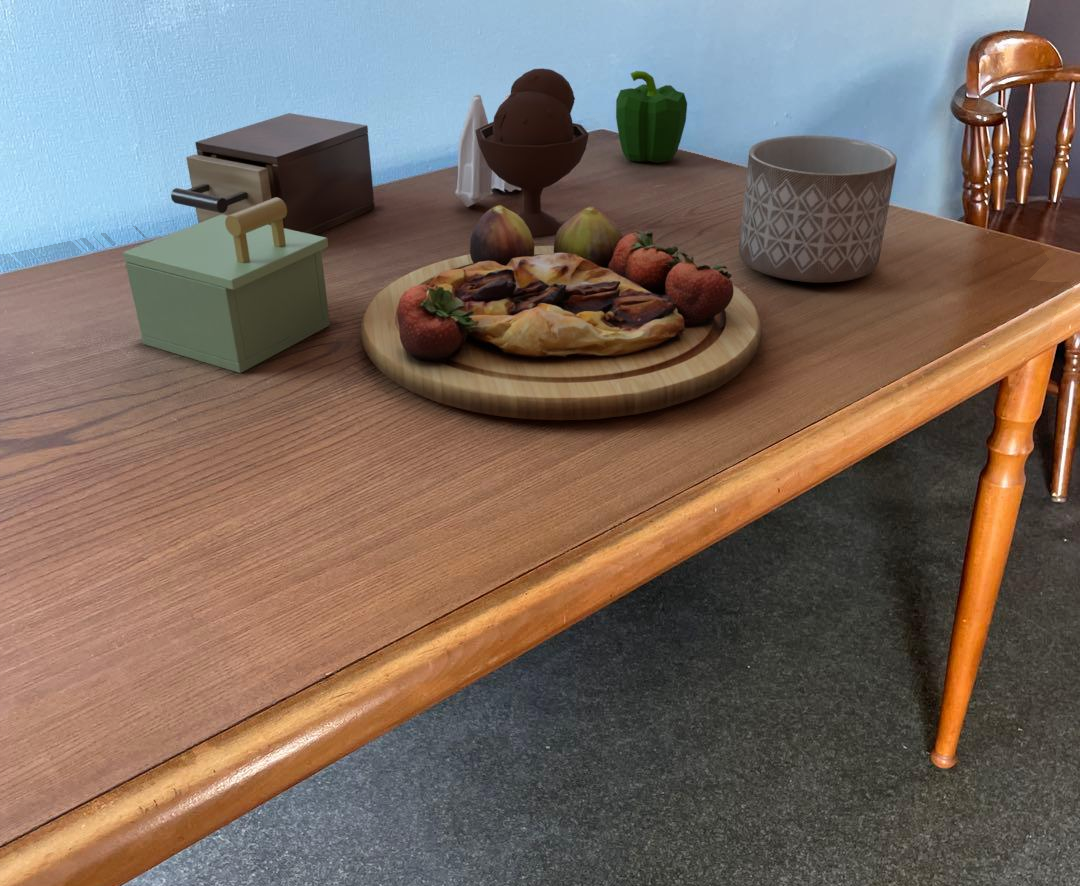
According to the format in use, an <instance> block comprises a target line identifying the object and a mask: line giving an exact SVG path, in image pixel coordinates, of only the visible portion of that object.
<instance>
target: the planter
mask: <svg viewBox="0 0 1080 886" xmlns="http://www.w3.org/2000/svg"><path fill="white" fill-rule="evenodd" d="M747 159H748V161H747V170H746V178H745V188H744V189H745V190H744V198H743V209H742V218H741V227H740V238H739V246H738V247H739V248H738V255H739V258H740V259H741V260H742V262H743V263H744V264H745V265H746V266H748V267H749V268H751V269H753V270H754V271H757V272H759V273H762V274H764V275H767V276H771V277H774V278H778V279H783V280H788V281H792V282H793V281H794V282H802V283H817V284H818V283H819V284H820V283H821V284H822V283H823V284H824V283H840V282H847V281H851V280H857V279H859V278H863V277H865V276H867V275H870V274H871V273H873V272H874V271H875V269H876V268H877V267H878V265H879V263H880V258H881V253H882V252H881V251H882V246H883V241H884V235H885V231H886V230H885V229H886V224H887V218H888V213H889V207H890V203H891V202H890V201H891V196H892V190H893V185H894V179H895V173H896V167H897V162H898V157H897V156H896V154H895V153H894V152H892V151H891V150H890V149H888V148H886V147H883V146H881V145H878V144H875V143H873V142H869V141H866V140H865V141H864V140H861V139H854V138H849V137H840V136H831V135H811V134H810V135H788V136H787V135H786V136H779V137H773V138H768V139H765V140H764V139H763V140H762V141H759V142H757V143H755V144H753V145H752V146H751V147H750V148H749V150H748V158H747Z"/></svg>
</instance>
